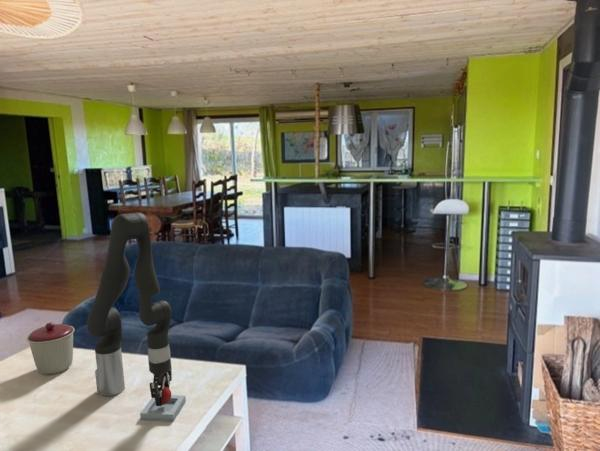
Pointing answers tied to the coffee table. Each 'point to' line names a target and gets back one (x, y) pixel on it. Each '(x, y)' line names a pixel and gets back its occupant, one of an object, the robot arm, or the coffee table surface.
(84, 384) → the coffee table surface
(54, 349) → the canister
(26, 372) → the coffee table surface
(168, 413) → the base plate
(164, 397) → the onion
